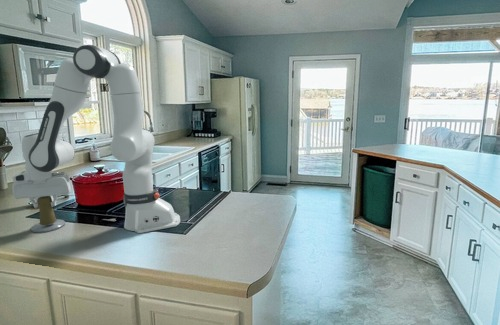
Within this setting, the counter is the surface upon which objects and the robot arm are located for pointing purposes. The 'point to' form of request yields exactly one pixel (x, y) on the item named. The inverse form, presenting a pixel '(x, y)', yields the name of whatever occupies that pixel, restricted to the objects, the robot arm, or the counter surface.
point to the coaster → (48, 226)
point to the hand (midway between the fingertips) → (45, 206)
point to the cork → (46, 210)
